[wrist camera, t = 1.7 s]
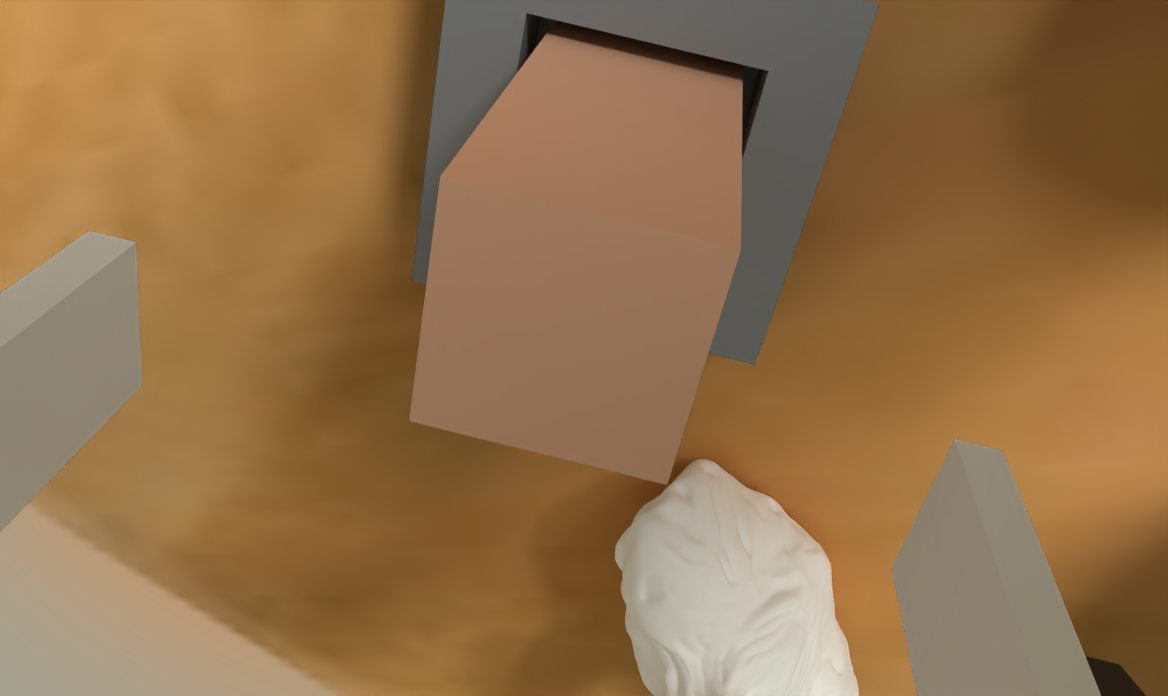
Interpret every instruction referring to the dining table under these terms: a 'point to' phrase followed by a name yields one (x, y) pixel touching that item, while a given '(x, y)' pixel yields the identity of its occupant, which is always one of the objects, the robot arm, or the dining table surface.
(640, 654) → the bust
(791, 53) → the holder
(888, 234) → the dining table surface
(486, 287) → the block
